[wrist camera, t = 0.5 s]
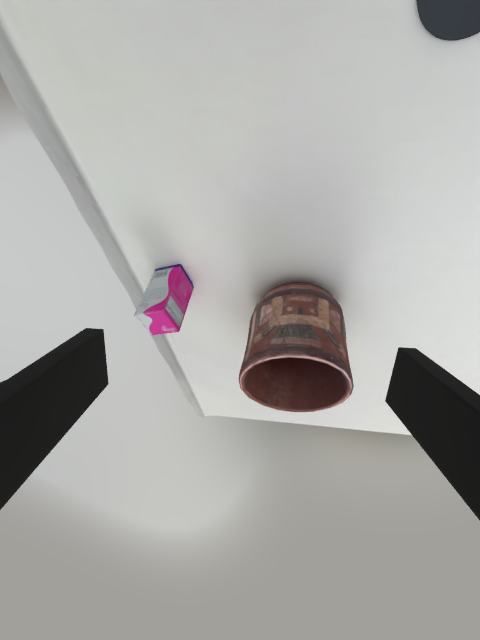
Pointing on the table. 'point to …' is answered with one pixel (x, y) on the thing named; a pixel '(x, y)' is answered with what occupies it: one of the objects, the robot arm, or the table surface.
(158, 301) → the supplement box
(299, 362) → the pottery
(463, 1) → the coaster
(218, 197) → the table surface
